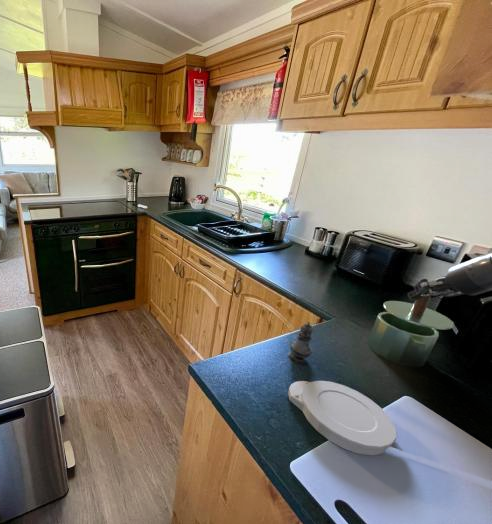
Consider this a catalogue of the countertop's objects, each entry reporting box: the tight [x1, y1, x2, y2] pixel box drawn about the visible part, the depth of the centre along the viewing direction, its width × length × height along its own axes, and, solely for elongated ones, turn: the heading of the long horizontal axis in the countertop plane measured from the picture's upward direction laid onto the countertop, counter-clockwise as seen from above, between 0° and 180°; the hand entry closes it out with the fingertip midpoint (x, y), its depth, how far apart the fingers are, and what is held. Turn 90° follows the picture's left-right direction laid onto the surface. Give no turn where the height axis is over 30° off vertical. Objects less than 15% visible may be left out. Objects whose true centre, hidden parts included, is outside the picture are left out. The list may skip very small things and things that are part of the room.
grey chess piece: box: [287, 321, 314, 365], centre depth 81 cm, size 6×6×12 cm
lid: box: [287, 380, 397, 456], centre depth 64 cm, size 17×20×3 cm
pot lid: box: [382, 291, 455, 331], centre depth 79 cm, size 15×15×9 cm
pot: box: [366, 311, 440, 368], centre depth 86 cm, size 14×19×10 cm
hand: (415, 297), depth 80 cm, fingers closed on pot lid, 2 cm apart
